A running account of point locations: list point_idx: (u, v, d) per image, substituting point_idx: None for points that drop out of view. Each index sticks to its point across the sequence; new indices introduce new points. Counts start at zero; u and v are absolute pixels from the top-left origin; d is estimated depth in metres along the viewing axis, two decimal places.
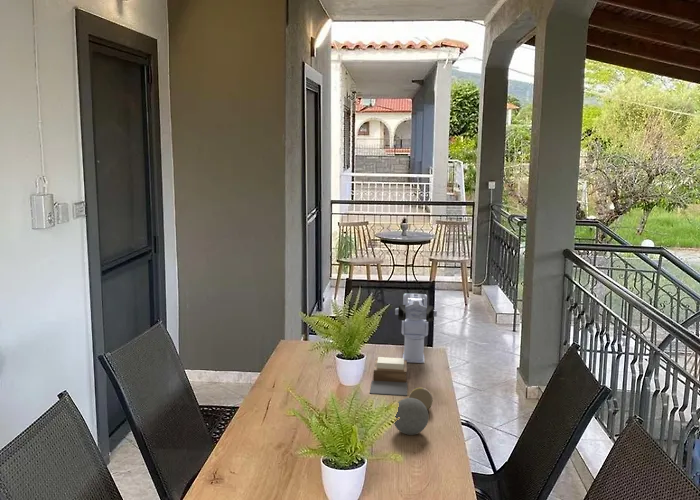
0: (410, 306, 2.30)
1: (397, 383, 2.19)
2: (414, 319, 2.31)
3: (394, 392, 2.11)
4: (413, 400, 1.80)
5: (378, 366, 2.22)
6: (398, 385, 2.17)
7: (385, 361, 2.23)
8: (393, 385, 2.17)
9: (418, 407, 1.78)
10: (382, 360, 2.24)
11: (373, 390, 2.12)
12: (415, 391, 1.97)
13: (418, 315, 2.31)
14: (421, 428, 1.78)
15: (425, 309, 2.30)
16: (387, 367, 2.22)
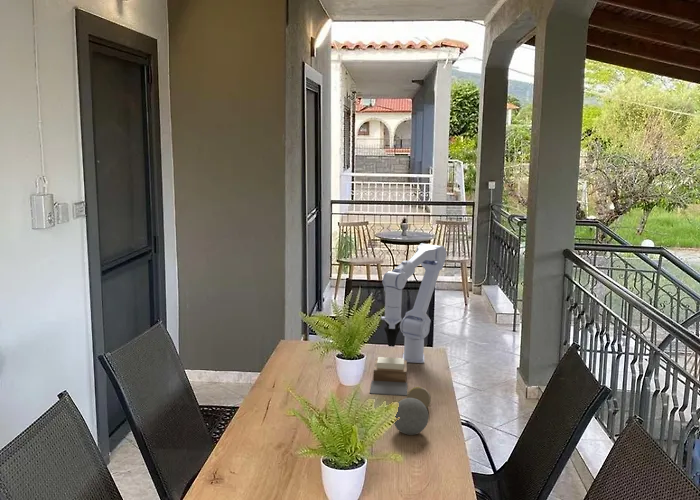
0: None
1: (397, 383, 2.19)
2: None
3: (394, 392, 2.11)
4: (413, 400, 1.80)
5: (378, 366, 2.22)
6: (398, 385, 2.17)
7: (385, 361, 2.23)
8: (393, 385, 2.17)
9: (418, 407, 1.78)
10: (382, 360, 2.24)
11: (373, 390, 2.12)
12: (413, 390, 1.98)
13: None
14: (421, 428, 1.78)
15: None
16: (387, 367, 2.22)
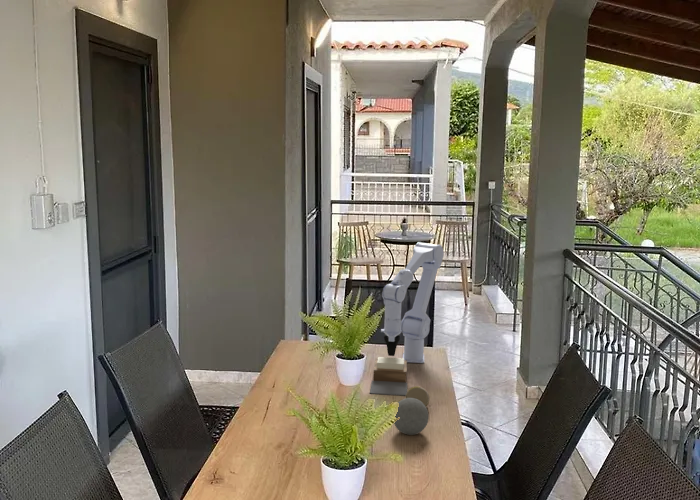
0: None
1: (397, 383, 2.19)
2: None
3: (394, 392, 2.11)
4: (413, 400, 1.80)
5: (378, 366, 2.22)
6: (398, 385, 2.17)
7: (385, 361, 2.23)
8: (393, 385, 2.17)
9: (418, 407, 1.78)
10: (382, 360, 2.24)
11: (373, 390, 2.12)
12: (412, 390, 1.98)
13: None
14: (421, 428, 1.78)
15: None
16: (387, 367, 2.22)
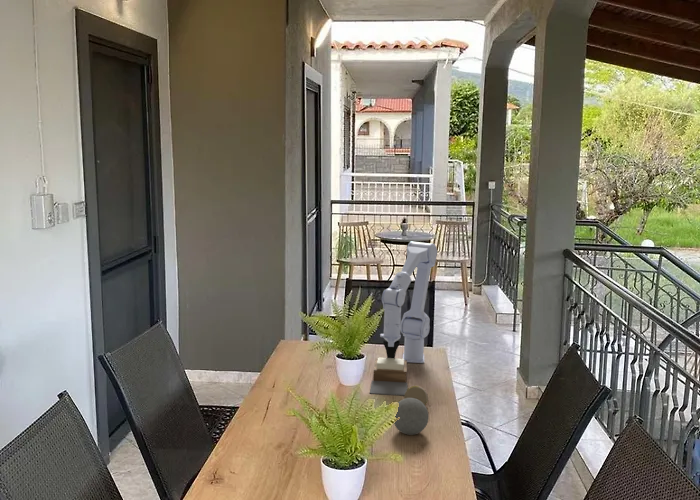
0: None
1: (397, 383, 2.19)
2: None
3: (394, 392, 2.11)
4: (413, 400, 1.80)
5: (378, 366, 2.22)
6: (398, 385, 2.17)
7: (385, 361, 2.23)
8: (393, 385, 2.17)
9: (418, 407, 1.78)
10: (382, 361, 2.24)
11: (373, 390, 2.12)
12: (410, 389, 1.98)
13: None
14: (421, 428, 1.78)
15: None
16: (387, 367, 2.21)
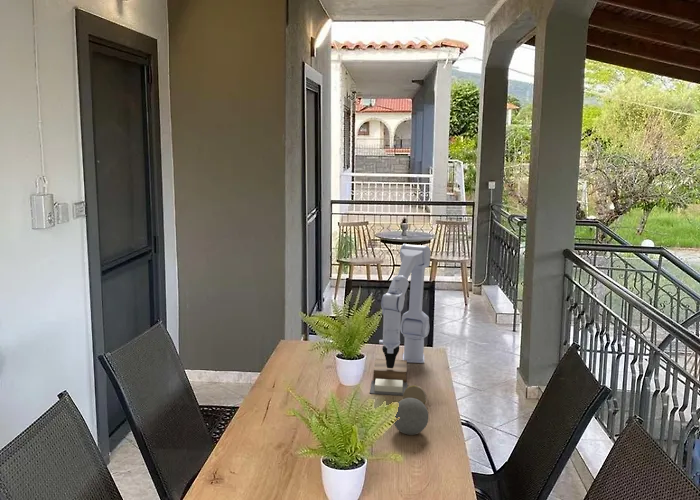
0: None
1: None
2: None
3: (394, 392, 2.11)
4: (413, 400, 1.80)
5: None
6: None
7: None
8: None
9: (418, 407, 1.78)
10: None
11: (373, 390, 2.12)
12: (409, 389, 1.99)
13: None
14: (421, 428, 1.78)
15: None
16: None
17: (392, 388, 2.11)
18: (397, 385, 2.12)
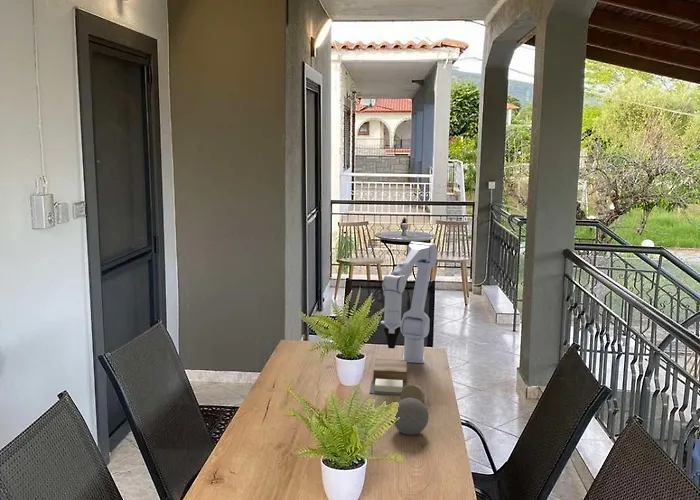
0: None
1: None
2: None
3: (394, 392, 2.11)
4: (413, 400, 1.80)
5: None
6: None
7: None
8: None
9: (418, 407, 1.78)
10: None
11: (373, 390, 2.12)
12: (407, 388, 2.00)
13: None
14: (421, 428, 1.78)
15: None
16: None
17: (392, 388, 2.11)
18: (397, 385, 2.12)
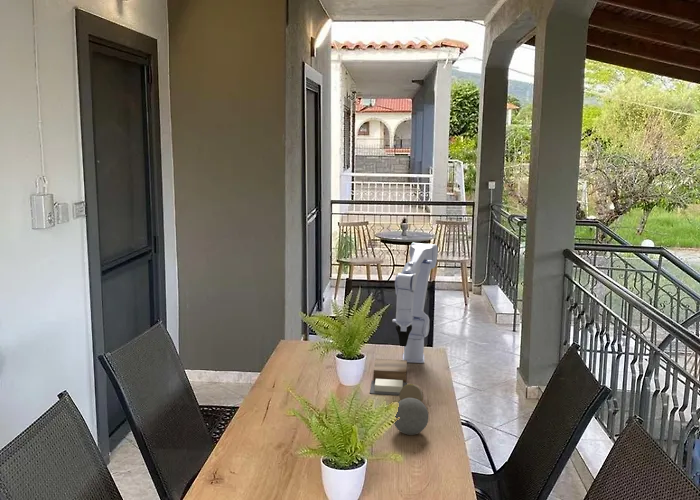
0: None
1: None
2: None
3: (394, 392, 2.11)
4: (413, 400, 1.80)
5: None
6: None
7: None
8: None
9: (418, 407, 1.78)
10: None
11: (373, 390, 2.12)
12: (406, 387, 2.00)
13: None
14: (421, 428, 1.78)
15: None
16: None
17: (392, 388, 2.11)
18: (397, 385, 2.12)
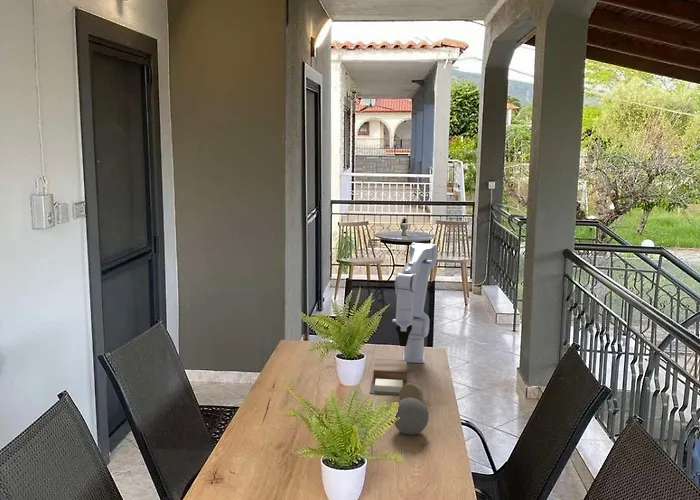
0: None
1: None
2: None
3: (394, 392, 2.11)
4: (413, 400, 1.80)
5: None
6: None
7: None
8: None
9: (418, 407, 1.78)
10: None
11: (373, 390, 2.12)
12: (405, 387, 2.00)
13: None
14: (421, 428, 1.78)
15: None
16: None
17: (392, 388, 2.11)
18: (397, 385, 2.12)
